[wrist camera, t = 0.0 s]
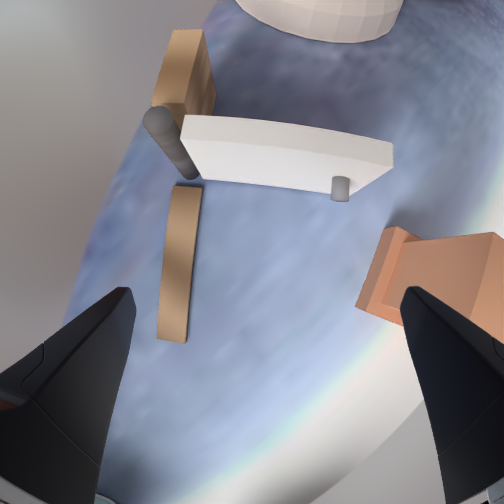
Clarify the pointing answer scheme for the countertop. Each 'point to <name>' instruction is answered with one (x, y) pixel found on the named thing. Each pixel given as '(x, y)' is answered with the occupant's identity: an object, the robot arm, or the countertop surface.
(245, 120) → the door
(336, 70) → the countertop surface
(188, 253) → the door frame
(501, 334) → the tan square pedestal
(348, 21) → the kettle
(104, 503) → the disposable coffee cup
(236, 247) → the countertop surface
